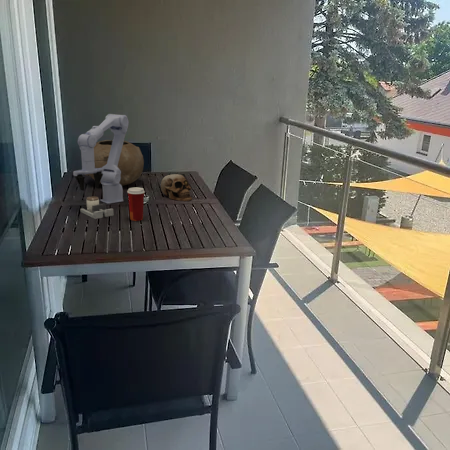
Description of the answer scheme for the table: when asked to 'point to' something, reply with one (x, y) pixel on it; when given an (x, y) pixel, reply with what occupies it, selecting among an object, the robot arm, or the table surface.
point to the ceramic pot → (120, 160)
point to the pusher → (99, 208)
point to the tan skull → (176, 187)
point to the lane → (98, 213)
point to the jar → (92, 202)
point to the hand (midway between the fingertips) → (89, 188)
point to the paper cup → (136, 203)
